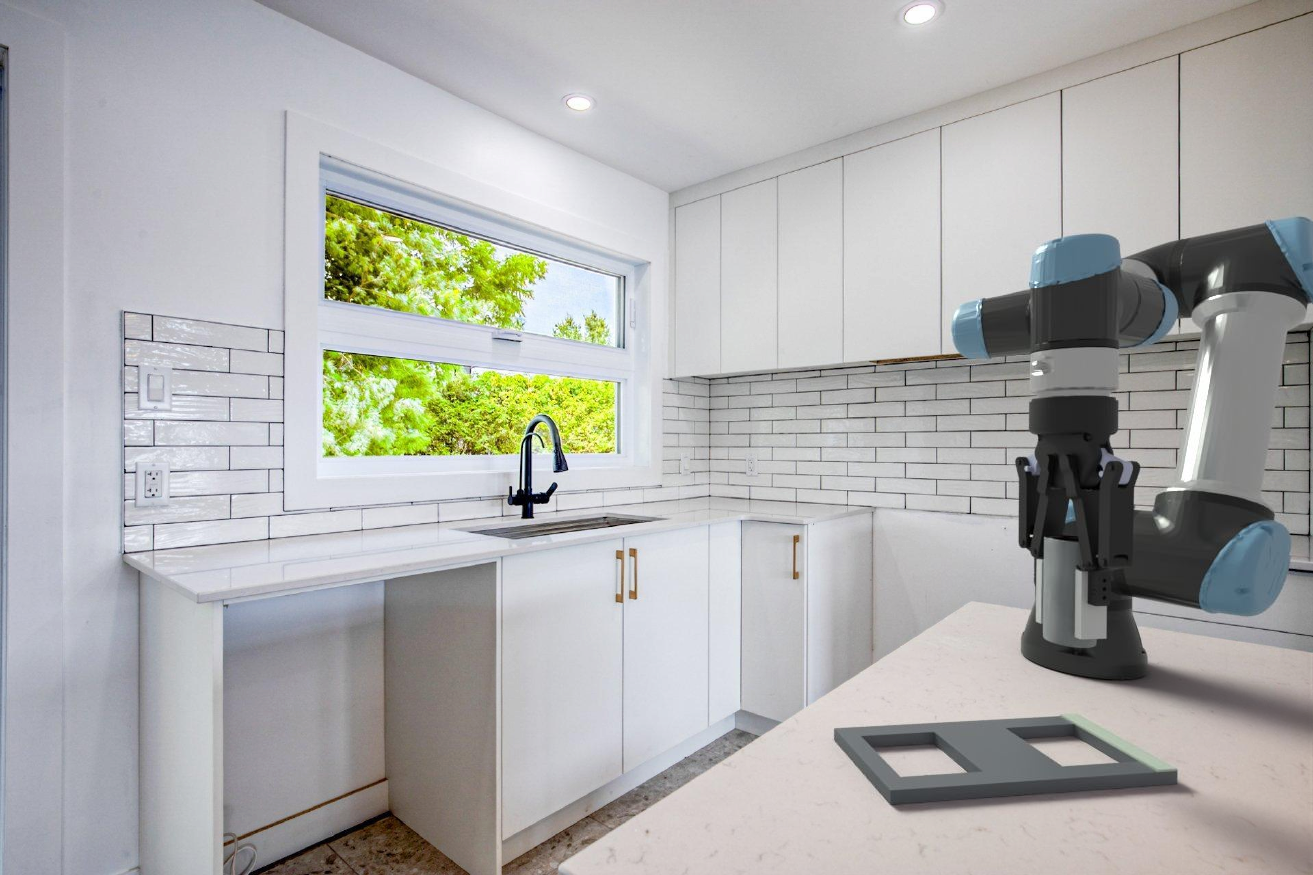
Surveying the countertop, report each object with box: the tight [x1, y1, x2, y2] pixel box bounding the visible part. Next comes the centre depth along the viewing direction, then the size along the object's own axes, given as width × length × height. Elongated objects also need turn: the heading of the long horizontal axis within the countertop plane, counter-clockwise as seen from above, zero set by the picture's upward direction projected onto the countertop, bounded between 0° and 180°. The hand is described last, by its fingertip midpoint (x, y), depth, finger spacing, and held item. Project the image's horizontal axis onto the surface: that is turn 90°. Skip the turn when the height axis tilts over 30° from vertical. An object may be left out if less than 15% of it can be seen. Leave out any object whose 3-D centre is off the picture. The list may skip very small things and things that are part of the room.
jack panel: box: [833, 713, 1179, 805], centre depth 64 cm, size 28×12×1 cm, turn 98°
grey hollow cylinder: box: [1043, 535, 1098, 648], centre depth 65 cm, size 4×4×10 cm
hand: (1069, 629), depth 65 cm, fingers closed on grey hollow cylinder, 4 cm apart
